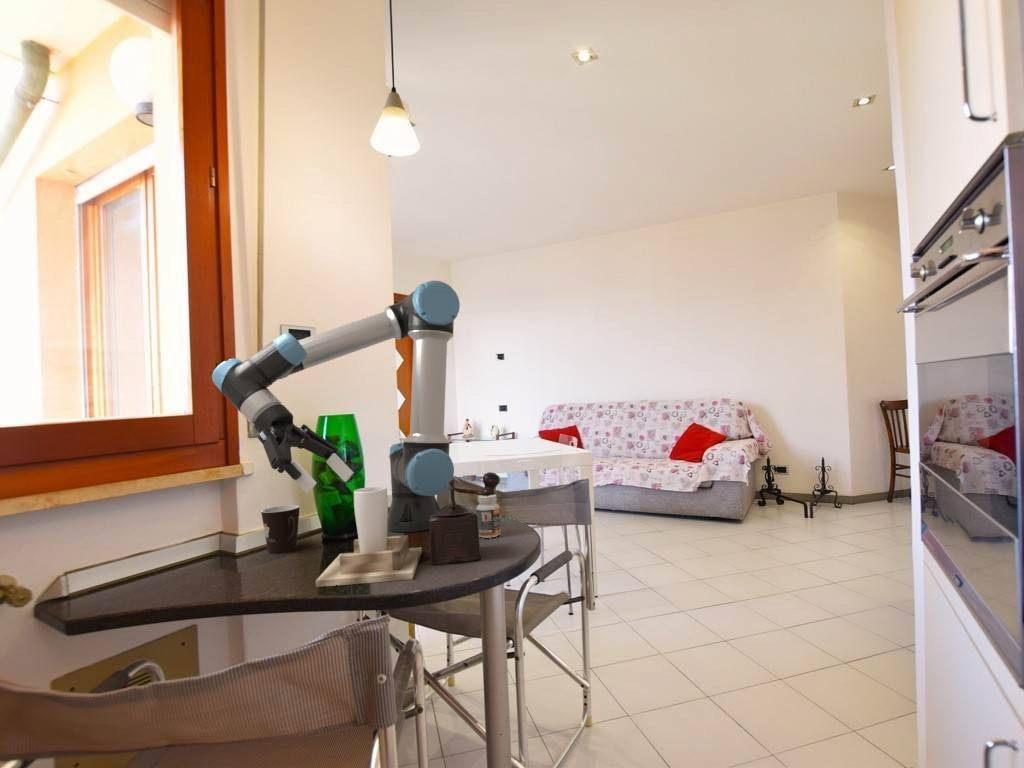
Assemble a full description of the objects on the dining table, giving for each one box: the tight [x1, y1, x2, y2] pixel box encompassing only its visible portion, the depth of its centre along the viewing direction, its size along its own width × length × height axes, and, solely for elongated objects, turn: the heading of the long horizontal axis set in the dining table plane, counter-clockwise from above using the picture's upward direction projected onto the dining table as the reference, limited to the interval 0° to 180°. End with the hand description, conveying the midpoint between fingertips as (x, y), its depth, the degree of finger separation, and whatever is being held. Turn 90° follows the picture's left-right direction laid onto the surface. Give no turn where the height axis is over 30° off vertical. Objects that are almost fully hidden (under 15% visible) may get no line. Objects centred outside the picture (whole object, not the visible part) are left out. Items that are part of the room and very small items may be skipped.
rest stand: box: [315, 534, 423, 588], centre depth 109 cm, size 18×18×5 cm
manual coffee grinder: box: [429, 471, 501, 566], centre depth 115 cm, size 16×11×18 cm
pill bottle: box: [475, 494, 502, 538], centre depth 130 cm, size 6×6×10 cm
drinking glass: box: [353, 486, 389, 553], centre depth 109 cm, size 7×7×15 cm
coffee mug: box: [260, 504, 301, 555], centre depth 127 cm, size 12×9×10 cm
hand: (331, 482), depth 111 cm, fingers open, 13 cm apart
